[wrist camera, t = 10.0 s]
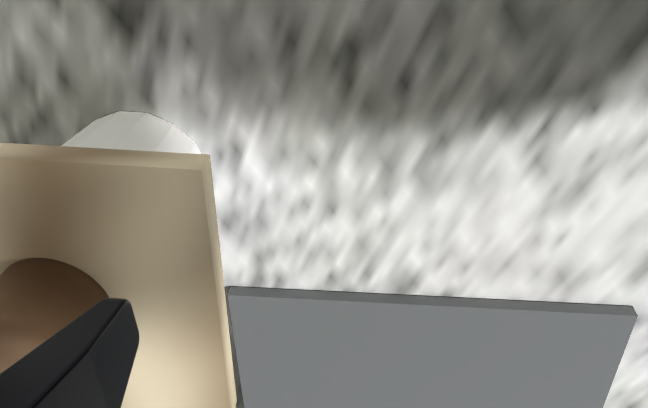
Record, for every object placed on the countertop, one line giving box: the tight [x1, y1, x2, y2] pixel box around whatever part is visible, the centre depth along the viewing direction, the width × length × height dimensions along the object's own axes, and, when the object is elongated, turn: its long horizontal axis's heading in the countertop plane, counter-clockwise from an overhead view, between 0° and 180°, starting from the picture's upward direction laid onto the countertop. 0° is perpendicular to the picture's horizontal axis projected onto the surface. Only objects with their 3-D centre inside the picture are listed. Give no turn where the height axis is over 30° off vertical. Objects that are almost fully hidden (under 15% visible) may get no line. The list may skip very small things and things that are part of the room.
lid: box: [0, 143, 237, 408], centre depth 16 cm, size 10×10×6 cm
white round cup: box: [61, 111, 201, 154], centre depth 21 cm, size 7×7×7 cm
